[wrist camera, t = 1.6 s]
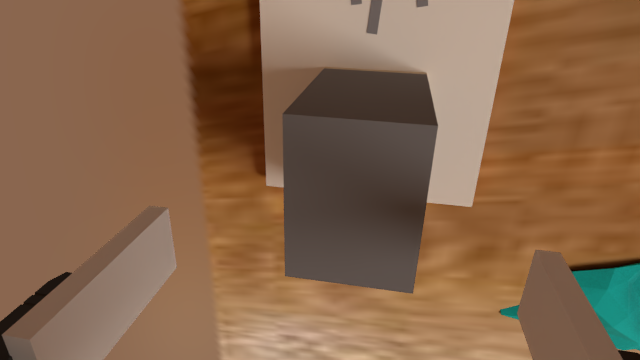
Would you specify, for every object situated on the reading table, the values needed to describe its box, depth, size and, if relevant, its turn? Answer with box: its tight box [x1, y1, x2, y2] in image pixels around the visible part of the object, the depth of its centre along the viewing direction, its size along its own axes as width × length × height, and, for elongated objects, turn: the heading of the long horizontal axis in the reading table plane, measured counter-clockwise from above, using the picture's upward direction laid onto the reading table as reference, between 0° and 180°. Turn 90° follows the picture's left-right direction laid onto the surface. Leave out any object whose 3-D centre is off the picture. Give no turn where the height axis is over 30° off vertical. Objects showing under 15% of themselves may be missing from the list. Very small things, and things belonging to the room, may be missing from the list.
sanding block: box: [282, 67, 438, 293], centre depth 22 cm, size 8×6×10 cm
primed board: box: [259, 0, 514, 207], centre depth 25 cm, size 22×14×1 cm, turn 179°
